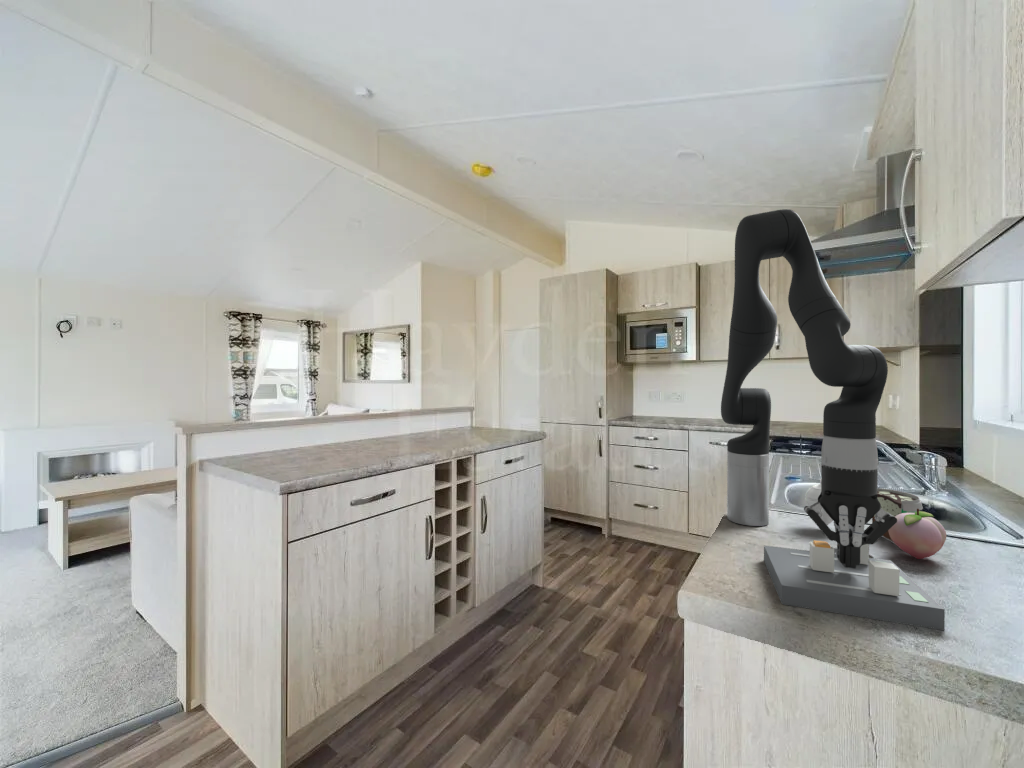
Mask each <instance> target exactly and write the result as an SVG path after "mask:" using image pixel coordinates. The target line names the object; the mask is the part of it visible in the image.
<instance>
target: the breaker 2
mask: <svg viewBox="0 0 1024 768" xmlns="http://www.w3.org/2000/svg"><path fill="white" fill-rule="evenodd" d="M893 563H894V562H893ZM893 563H885V562H877V561H869V587H870V588H871V589H872V590H873V592H874V593H879V594H886V595H893V596H899V573H900V570H899V569H898V568H897V567H898V566H897V565H896V564H895V563H894V564H895V565H896V566H897V567H896V566H895V565H894V564H893Z"/></svg>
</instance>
